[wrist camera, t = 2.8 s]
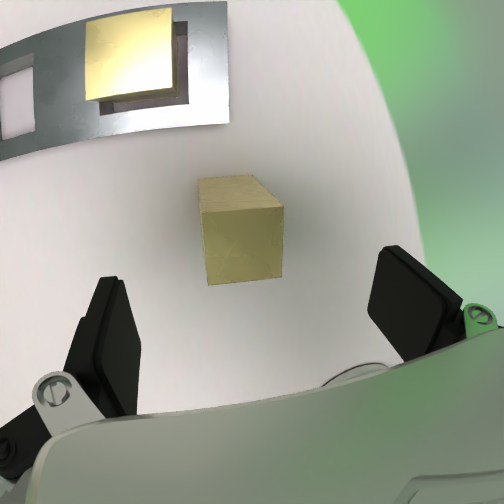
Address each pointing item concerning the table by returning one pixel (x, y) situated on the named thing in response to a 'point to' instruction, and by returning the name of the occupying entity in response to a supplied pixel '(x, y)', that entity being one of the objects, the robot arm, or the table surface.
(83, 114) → the peg holder block
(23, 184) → the table surface
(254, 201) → the brass square peg
